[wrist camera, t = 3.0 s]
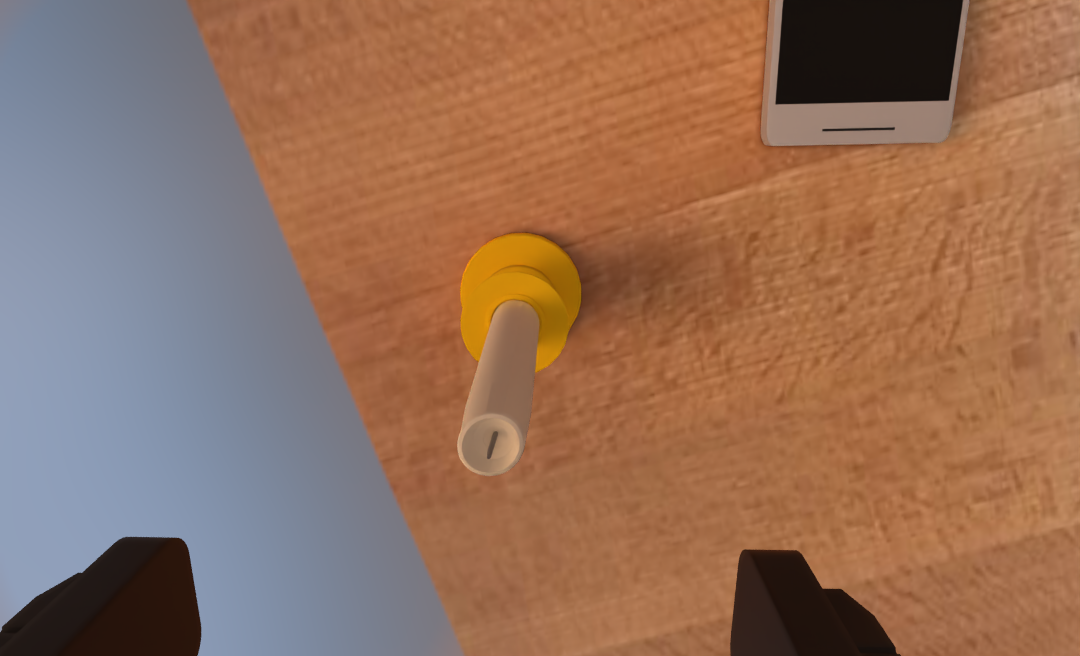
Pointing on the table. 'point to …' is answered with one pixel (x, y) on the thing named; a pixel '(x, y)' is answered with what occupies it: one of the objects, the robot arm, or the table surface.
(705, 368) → the table surface
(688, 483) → the table surface
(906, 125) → the smartphone
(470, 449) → the candle
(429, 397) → the table surface
